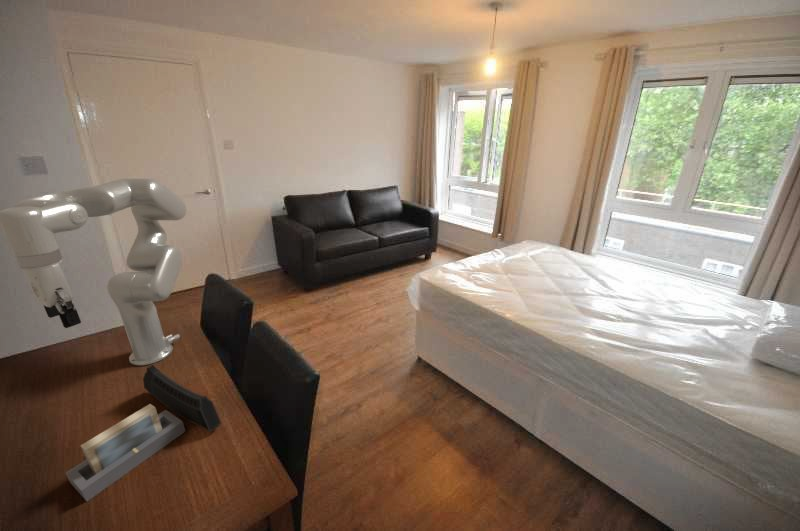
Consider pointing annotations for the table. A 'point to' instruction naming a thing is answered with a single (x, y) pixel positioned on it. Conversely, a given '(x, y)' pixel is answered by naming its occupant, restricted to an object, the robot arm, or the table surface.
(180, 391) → the magazine
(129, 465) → the gray rectangular tray
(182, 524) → the table surface
